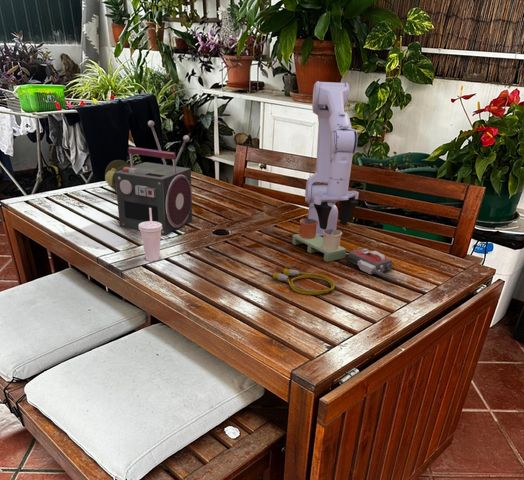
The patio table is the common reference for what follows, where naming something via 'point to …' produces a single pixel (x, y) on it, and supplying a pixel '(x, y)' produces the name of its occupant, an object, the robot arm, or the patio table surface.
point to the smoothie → (151, 238)
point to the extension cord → (295, 272)
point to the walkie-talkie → (370, 262)
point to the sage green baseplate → (319, 247)
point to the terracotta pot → (308, 228)
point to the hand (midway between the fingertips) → (333, 226)
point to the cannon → (113, 168)
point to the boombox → (154, 190)
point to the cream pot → (331, 239)
